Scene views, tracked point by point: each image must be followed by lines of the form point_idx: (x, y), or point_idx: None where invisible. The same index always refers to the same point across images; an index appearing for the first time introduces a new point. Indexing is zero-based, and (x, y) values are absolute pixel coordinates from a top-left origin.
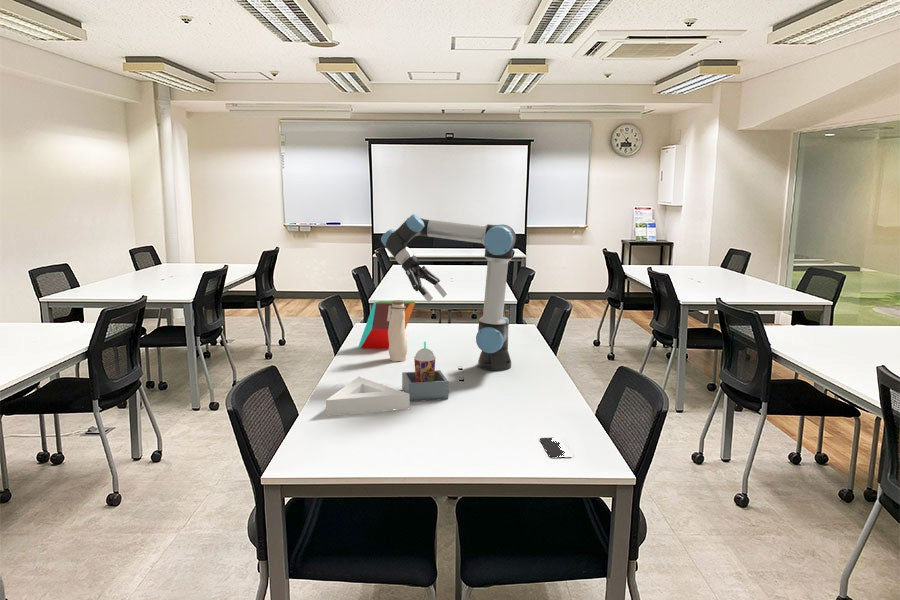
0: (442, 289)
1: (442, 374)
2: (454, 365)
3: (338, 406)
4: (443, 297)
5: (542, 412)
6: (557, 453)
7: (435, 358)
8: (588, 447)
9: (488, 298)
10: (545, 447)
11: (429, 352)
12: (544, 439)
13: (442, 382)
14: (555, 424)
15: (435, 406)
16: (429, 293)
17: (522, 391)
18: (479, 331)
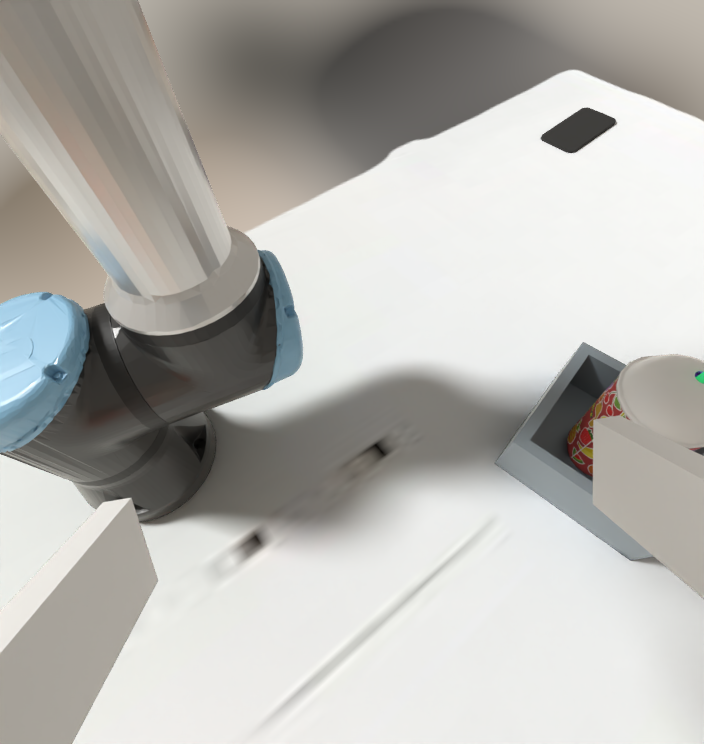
0: (73, 592)
1: (544, 401)
2: (215, 601)
3: None
4: (153, 578)
5: (453, 196)
6: (599, 119)
7: (629, 363)
8: (534, 110)
9: (176, 127)
10: (597, 134)
11: (685, 356)
12: (570, 145)
13: (602, 354)
14: (491, 163)
15: None
16: (669, 460)
17: (357, 275)
18: (290, 317)
